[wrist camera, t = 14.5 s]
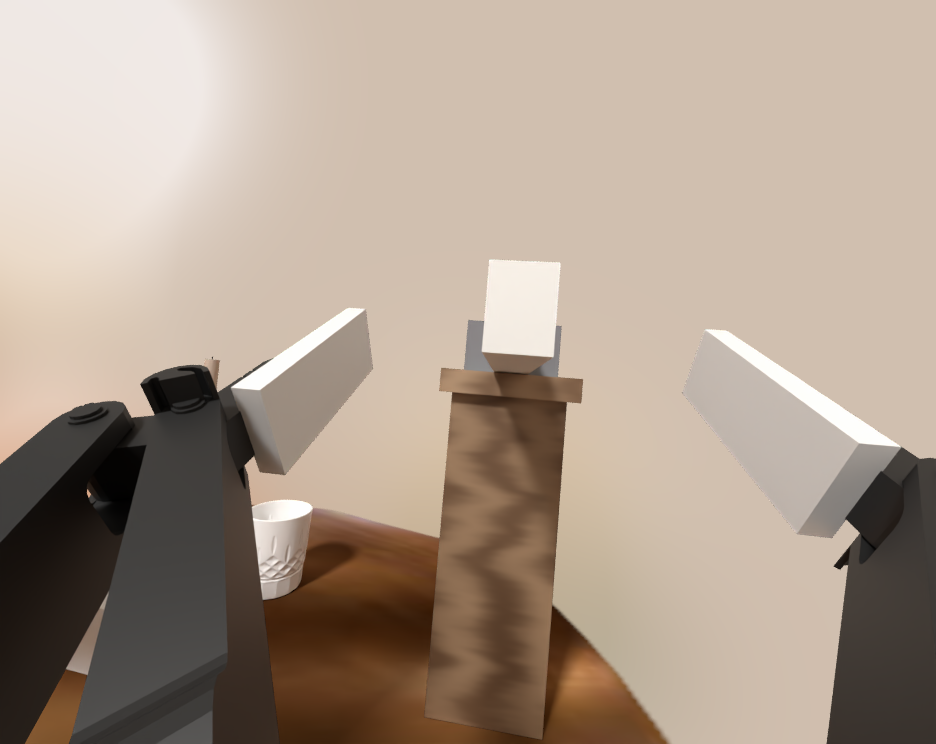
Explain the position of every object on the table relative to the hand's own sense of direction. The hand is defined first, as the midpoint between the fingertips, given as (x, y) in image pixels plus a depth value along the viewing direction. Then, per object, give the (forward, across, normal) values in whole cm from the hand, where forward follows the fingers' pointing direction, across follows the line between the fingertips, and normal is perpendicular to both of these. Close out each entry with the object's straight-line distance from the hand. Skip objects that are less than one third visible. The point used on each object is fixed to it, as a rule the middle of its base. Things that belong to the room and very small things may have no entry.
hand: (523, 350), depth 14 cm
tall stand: (+4, 0, -38) cm, 38 cm away
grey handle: (+12, 0, -7) cm, 14 cm away
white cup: (+11, -29, -42) cm, 52 cm away
